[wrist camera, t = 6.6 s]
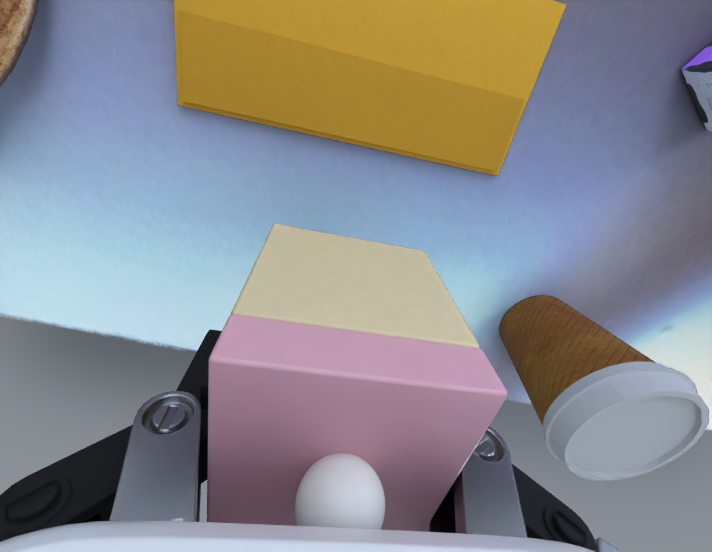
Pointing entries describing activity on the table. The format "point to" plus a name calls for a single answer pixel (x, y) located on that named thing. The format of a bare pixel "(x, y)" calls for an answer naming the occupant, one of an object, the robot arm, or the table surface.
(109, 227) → the table surface
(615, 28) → the table surface
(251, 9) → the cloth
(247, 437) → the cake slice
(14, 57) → the gnarled root piece
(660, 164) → the table surface
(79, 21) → the table surface
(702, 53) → the candy box
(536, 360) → the disposable coffee cup
